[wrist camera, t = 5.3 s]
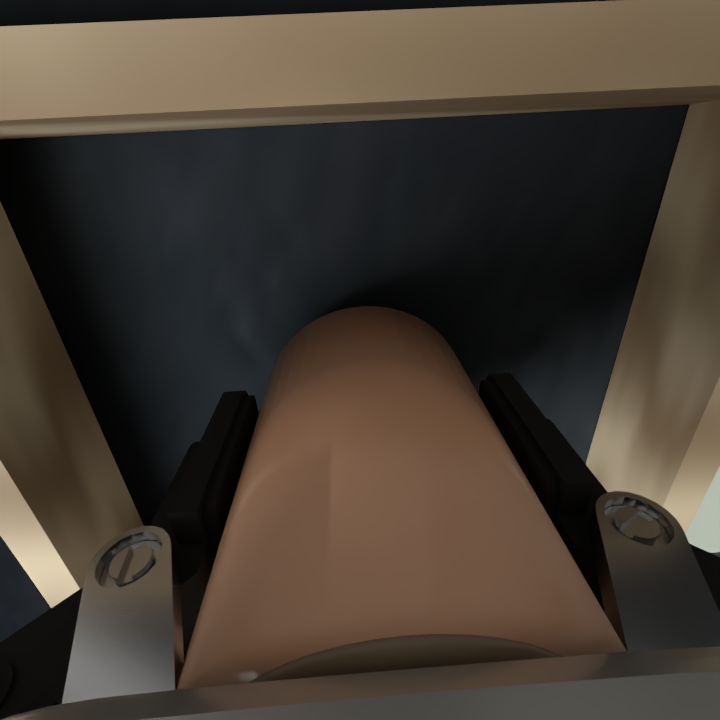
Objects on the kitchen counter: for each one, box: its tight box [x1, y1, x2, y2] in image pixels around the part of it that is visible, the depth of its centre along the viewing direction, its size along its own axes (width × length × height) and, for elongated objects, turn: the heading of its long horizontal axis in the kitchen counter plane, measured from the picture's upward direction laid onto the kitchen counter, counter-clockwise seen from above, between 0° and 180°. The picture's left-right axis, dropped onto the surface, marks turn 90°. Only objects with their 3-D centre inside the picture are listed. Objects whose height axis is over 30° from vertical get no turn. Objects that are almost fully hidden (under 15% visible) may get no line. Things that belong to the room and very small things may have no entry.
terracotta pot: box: [177, 306, 627, 690], centre depth 9 cm, size 6×6×8 cm
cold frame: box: [0, 0, 720, 608], centre depth 12 cm, size 18×20×4 cm
